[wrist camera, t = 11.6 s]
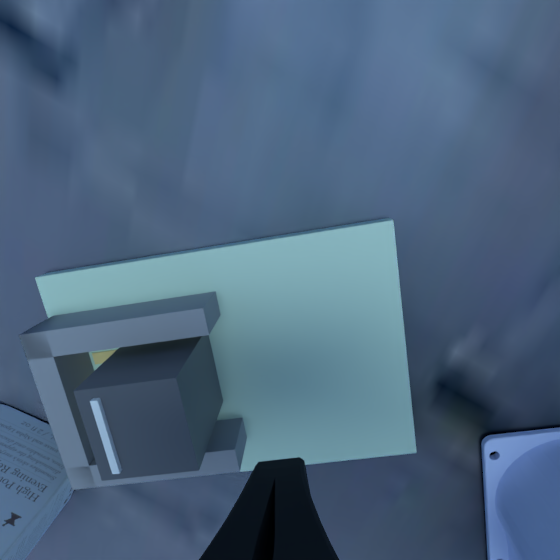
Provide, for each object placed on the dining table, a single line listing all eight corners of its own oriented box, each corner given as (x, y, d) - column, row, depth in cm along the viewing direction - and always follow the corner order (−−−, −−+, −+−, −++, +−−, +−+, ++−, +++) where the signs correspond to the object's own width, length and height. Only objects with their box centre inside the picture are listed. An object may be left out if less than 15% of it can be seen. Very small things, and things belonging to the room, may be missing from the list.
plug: (223, 401, 21) (197, 474, 16) (147, 410, 21) (99, 484, 16) (207, 327, 20) (174, 380, 15) (128, 338, 20) (70, 393, 15)
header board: (411, 440, 22) (431, 489, 18) (110, 473, 23) (78, 524, 20) (388, 217, 19) (407, 227, 15) (47, 272, 20) (-3, 292, 17)
